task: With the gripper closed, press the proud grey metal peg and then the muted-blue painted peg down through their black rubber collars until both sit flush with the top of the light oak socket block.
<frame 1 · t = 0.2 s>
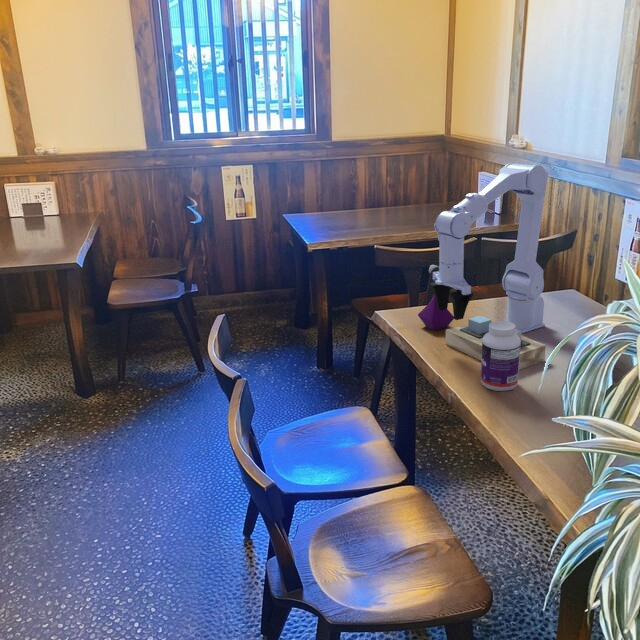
hand: (450, 314, 154), 10 cm above the table, fingers open, 7 cm apart
peg grey: (509, 339, 150), point 5 cm above the table, slide at 2.8 cm
socket block: (493, 351, 156), on the table
pill bottle: (499, 385, 139), on the table
perfume bottle: (435, 327, 174), on the table
peg blue: (479, 327, 158), point 5 cm above the table, slide at 2.8 cm
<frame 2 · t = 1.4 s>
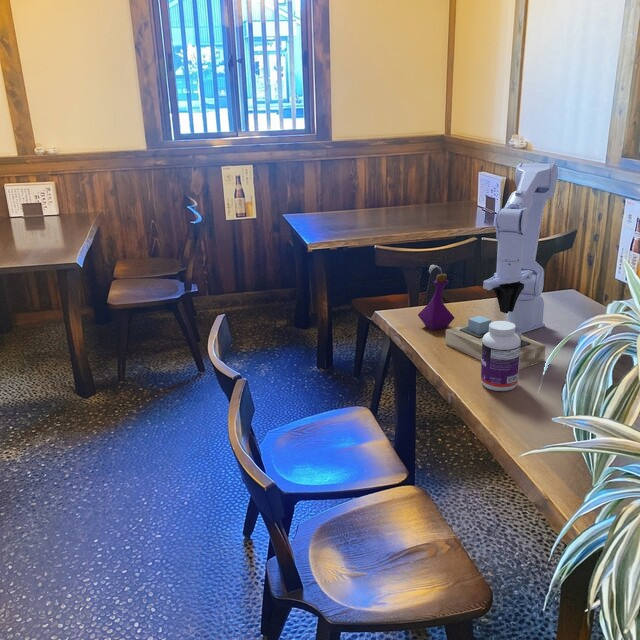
hand: (506, 311, 154), 10 cm above the table, fingers closed
nothing on the table moved.
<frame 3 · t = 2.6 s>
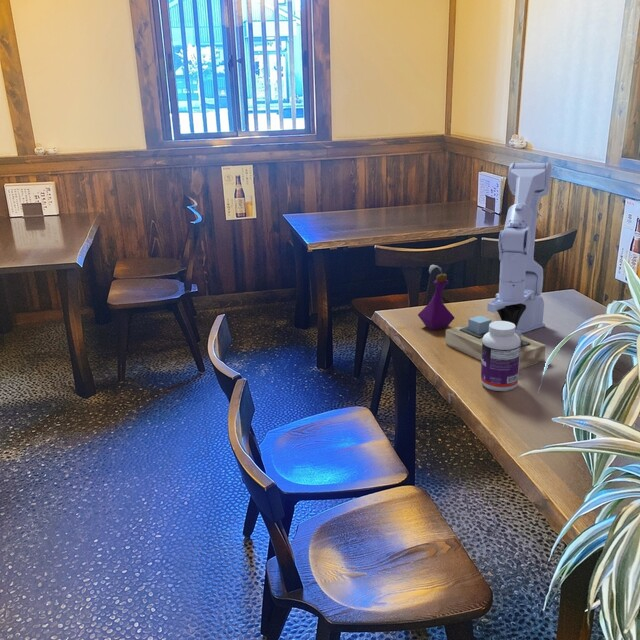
hand: (509, 333, 149), 7 cm above the table, fingers closed, pressing on peg grey
peg grey: (508, 341, 150), point 5 cm above the table, slide at 2.2 cm, touching gripper
everything else where it was.
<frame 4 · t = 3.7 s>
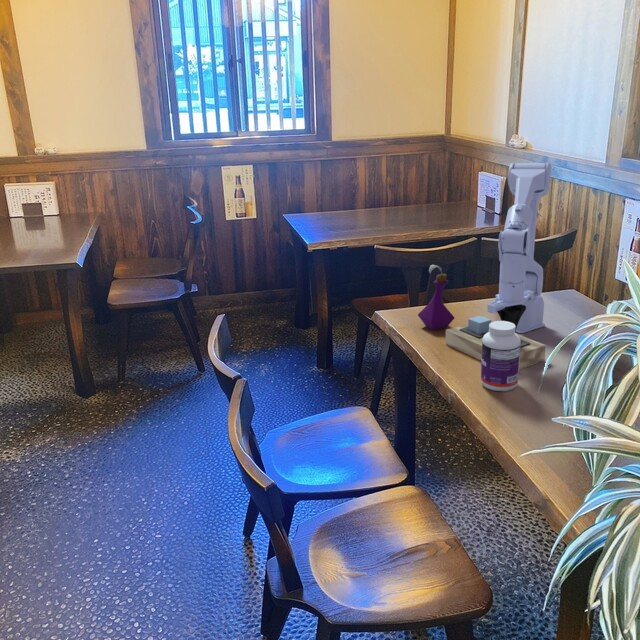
hand: (509, 333, 150), 6 cm above the table, fingers closed
peg grey: (508, 349, 151), point 2 cm above the table, slide at 0.0 cm
everything else where it was.
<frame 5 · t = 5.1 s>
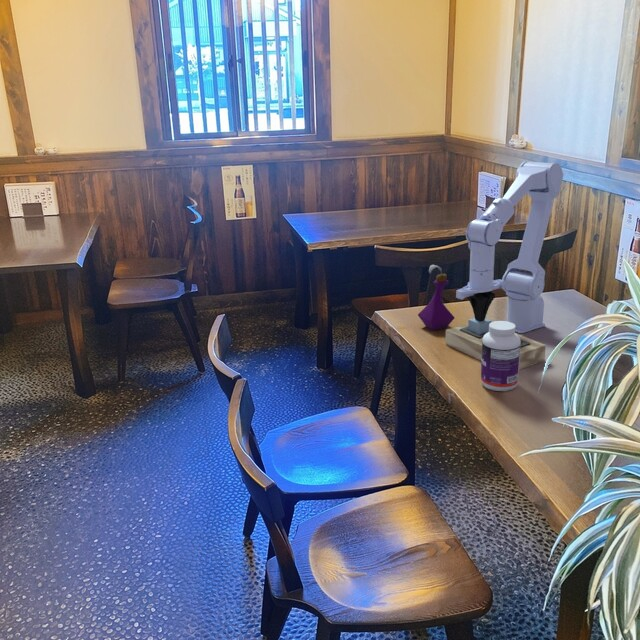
hand: (479, 320, 157), 7 cm above the table, fingers closed, pressing on peg blue
peg blue: (479, 327, 158), point 5 cm above the table, slide at 2.6 cm, touching gripper
everything else where it was.
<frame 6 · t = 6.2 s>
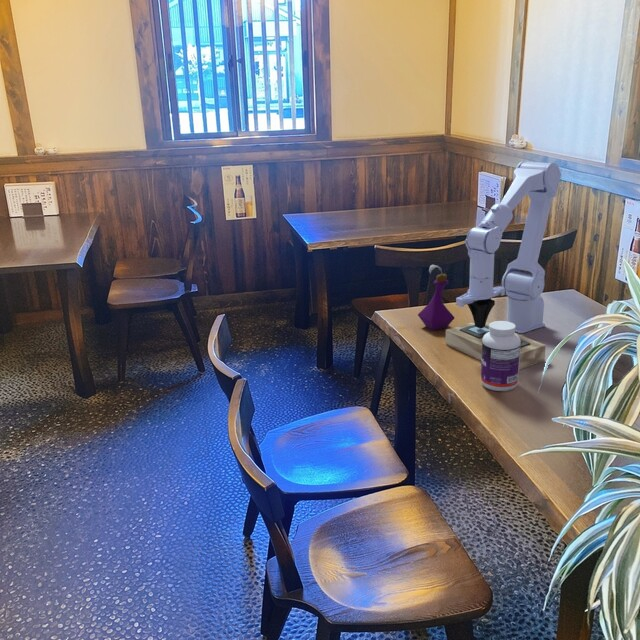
hand: (479, 326, 158), 5 cm above the table, fingers closed
peg blue: (479, 337, 159), point 2 cm above the table, slide at 0.0 cm
everything else where it was.
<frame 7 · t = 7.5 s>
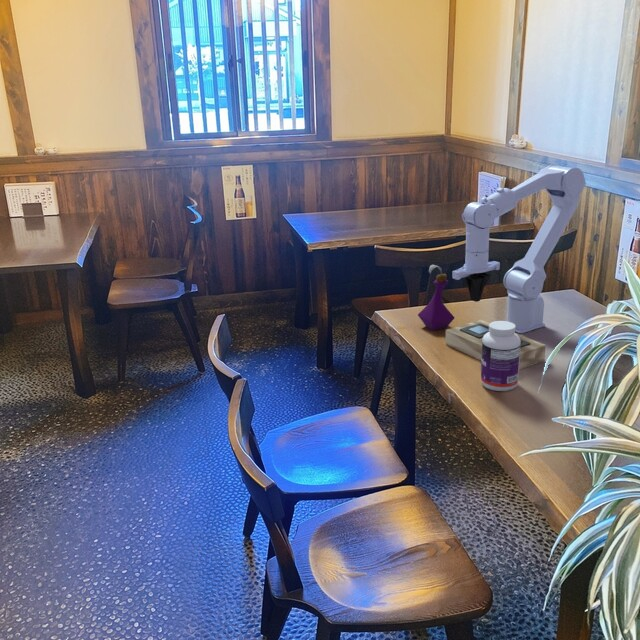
hand: (475, 300, 163), 10 cm above the table, fingers closed
nothing on the table moved.
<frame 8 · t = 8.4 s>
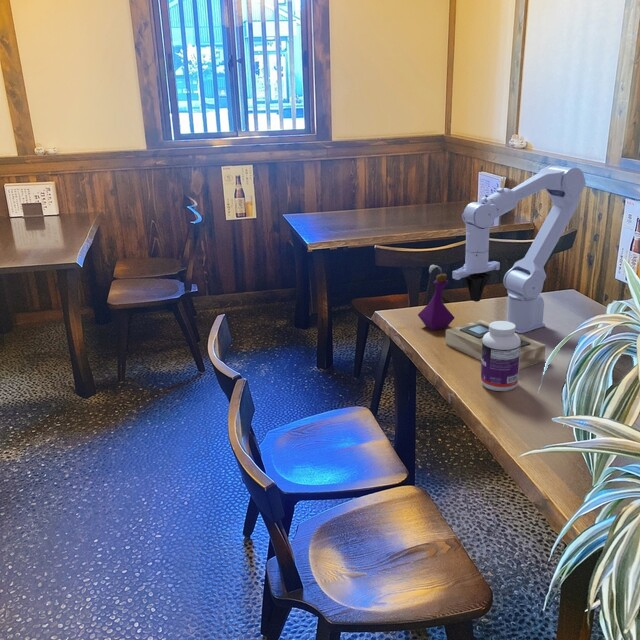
hand: (475, 300, 163), 10 cm above the table, fingers closed
nothing on the table moved.
at the end: peg grey slide at 0.0 cm; peg blue slide at 0.0 cm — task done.
